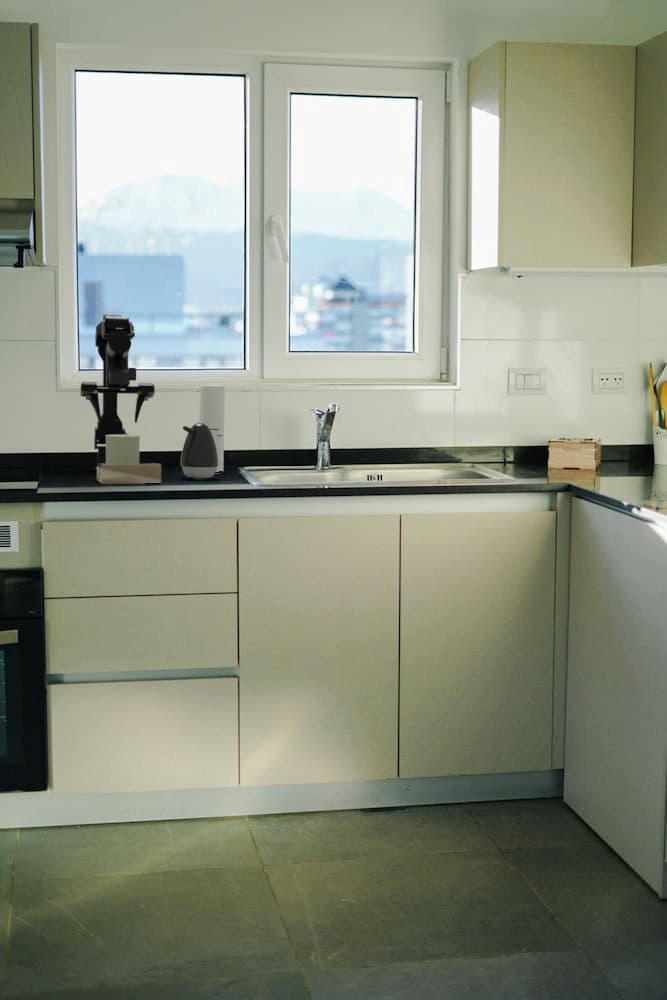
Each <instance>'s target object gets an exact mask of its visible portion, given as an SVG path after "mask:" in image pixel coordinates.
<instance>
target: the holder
mask: <svg viewBox="0 0 667 1000" xmlns="http://www.w3.org/2000/svg"><path fill="white" fill-rule="evenodd" d="M96 468H97V470H96V481H98V482H99V483H100V484H102V485H131V484H132V485H140V484H141V485H142V484H143V485H145V483H161V484H162V464H161V463H157V462H151V463H139V464H105V463H99V467H98V466H96Z"/></svg>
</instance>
